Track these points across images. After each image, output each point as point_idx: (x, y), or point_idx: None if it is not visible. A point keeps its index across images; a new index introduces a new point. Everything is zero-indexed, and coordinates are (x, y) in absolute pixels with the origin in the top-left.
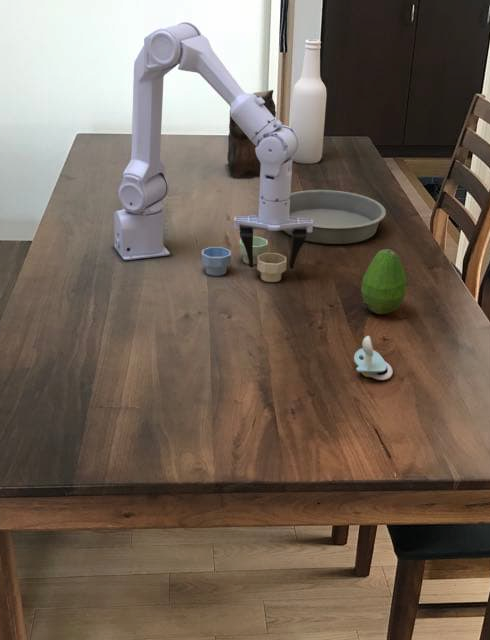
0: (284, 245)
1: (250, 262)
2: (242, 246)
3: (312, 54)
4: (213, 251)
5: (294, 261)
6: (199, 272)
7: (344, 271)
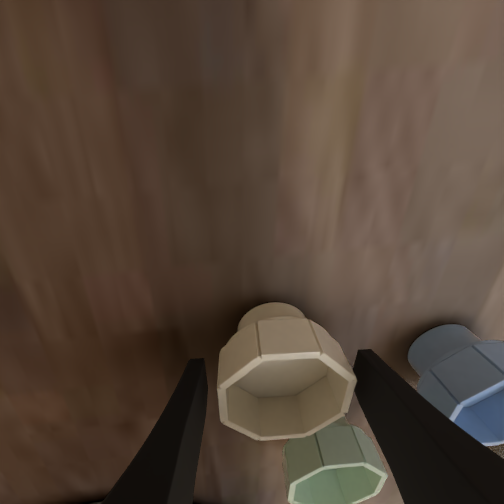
0: (229, 480)
1: (383, 365)
2: (376, 461)
3: None
4: (479, 424)
5: (176, 389)
6: (489, 338)
7: (33, 396)
